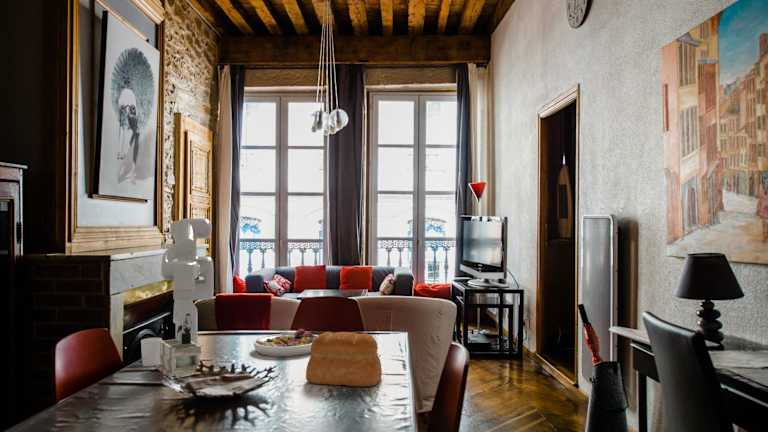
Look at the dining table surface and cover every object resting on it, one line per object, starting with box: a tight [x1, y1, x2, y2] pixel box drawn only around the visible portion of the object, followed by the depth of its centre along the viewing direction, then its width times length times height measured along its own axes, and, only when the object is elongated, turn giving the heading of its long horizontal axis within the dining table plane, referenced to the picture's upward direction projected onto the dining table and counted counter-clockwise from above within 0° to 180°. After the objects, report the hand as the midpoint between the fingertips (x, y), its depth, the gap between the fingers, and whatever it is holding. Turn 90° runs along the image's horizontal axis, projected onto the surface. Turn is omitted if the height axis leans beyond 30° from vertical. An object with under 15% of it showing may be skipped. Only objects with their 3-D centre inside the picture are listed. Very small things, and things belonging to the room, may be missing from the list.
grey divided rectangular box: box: [155, 338, 202, 377], centre depth 199 cm, size 21×12×10 cm, turn 38°
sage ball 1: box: [175, 330, 192, 344], centre depth 196 cm, size 6×6×6 cm
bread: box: [305, 331, 383, 388], centre depth 185 cm, size 16×26×17 cm, turn 78°
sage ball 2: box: [176, 356, 191, 368], centre depth 195 cm, size 6×6×6 cm
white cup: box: [140, 337, 163, 367], centre depth 210 cm, size 8×8×10 cm
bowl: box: [253, 328, 319, 358], centre depth 233 cm, size 30×30×8 cm
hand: (183, 341), depth 196 cm, fingers closed on sage ball 1, 5 cm apart
